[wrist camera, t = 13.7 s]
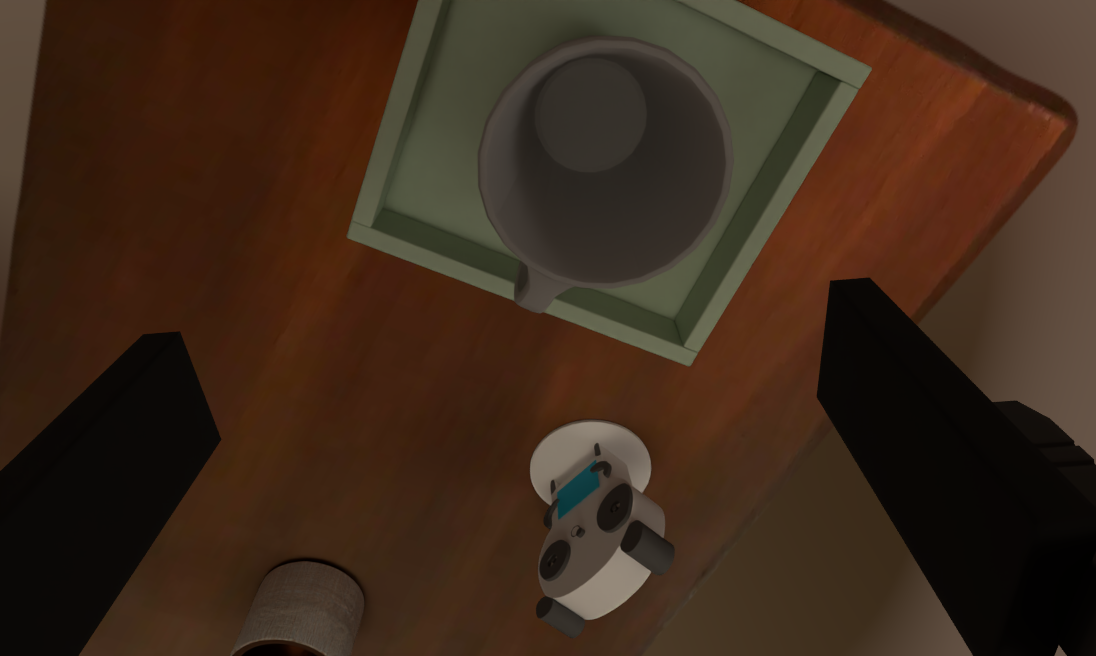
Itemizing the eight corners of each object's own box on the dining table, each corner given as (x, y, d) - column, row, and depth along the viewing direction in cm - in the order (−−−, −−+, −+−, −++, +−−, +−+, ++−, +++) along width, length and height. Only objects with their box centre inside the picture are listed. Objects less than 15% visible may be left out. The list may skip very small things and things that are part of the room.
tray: (433, 112, 50) (344, 242, 28) (504, -98, 44) (461, -144, 22) (628, 194, 53) (687, 371, 31) (720, 8, 47) (876, 62, 25)
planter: (288, 635, 77) (256, 720, 69) (243, 567, 72) (203, 649, 64) (381, 618, 76) (360, 702, 67) (342, 547, 71) (314, 629, 62)
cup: (720, 63, 27) (787, 108, 20) (606, 278, 32) (624, 381, 24) (541, -27, 26) (539, -15, 18) (447, 211, 30) (413, 300, 23)
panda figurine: (594, 393, 62) (607, 513, 49) (680, 461, 66) (714, 591, 52) (505, 471, 66) (495, 601, 53) (591, 531, 70) (601, 667, 57)
